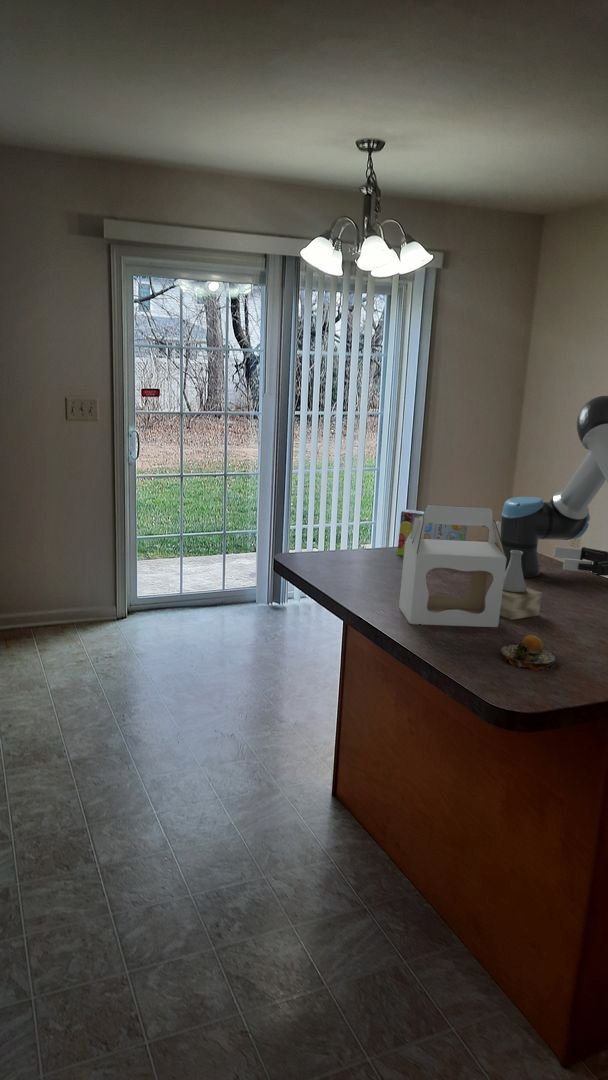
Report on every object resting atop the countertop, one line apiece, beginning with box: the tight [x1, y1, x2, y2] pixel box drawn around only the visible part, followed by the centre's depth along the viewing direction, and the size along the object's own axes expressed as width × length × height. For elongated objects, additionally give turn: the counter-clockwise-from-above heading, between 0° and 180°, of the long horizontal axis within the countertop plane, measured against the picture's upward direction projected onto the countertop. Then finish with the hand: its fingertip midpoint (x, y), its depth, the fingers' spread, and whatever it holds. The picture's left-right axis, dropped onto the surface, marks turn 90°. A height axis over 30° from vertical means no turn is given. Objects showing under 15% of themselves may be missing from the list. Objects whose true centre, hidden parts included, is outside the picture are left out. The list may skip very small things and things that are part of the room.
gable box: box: [398, 504, 507, 628], centre depth 189 cm, size 22×13×28 cm, turn 95°
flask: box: [503, 550, 526, 592], centre depth 198 cm, size 7×7×10 cm
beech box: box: [499, 587, 544, 620], centre depth 200 cm, size 10×10×6 cm
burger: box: [498, 632, 557, 671], centre depth 165 cm, size 12×12×8 cm
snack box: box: [396, 509, 468, 557], centre depth 252 cm, size 21×6×15 cm, turn 65°
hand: (558, 557), depth 196 cm, fingers open, 13 cm apart
